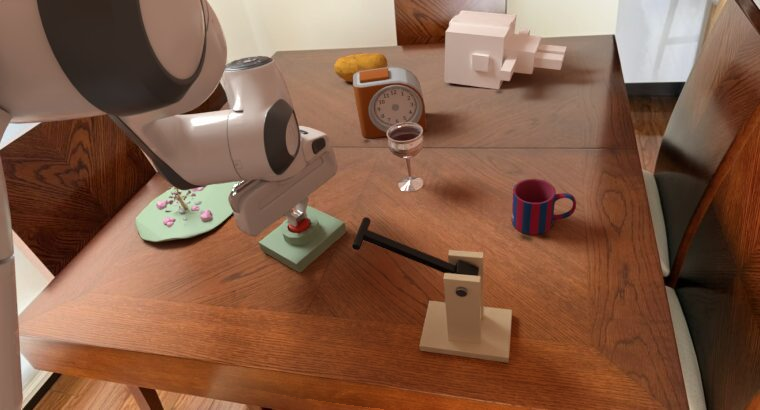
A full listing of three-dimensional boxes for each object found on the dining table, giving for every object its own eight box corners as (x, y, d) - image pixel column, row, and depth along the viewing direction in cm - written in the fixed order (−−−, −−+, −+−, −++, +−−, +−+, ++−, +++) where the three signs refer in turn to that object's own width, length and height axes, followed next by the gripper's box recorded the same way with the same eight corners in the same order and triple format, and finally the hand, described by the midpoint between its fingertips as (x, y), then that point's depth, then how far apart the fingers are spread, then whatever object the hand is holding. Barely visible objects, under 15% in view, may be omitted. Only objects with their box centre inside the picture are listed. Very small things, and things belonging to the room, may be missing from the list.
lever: (349, 251, 62) (354, 239, 60) (360, 224, 66) (365, 212, 64) (468, 299, 62) (476, 289, 61) (472, 270, 66) (480, 259, 64)
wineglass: (407, 199, 96) (400, 146, 88) (387, 183, 100) (379, 132, 93) (435, 184, 98) (430, 131, 90) (414, 169, 103) (408, 118, 95)
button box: (299, 273, 84) (293, 256, 82) (261, 251, 90) (255, 234, 87) (346, 231, 91) (342, 214, 88) (308, 213, 96) (304, 196, 94)
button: (300, 239, 87) (298, 231, 85) (286, 231, 89) (284, 224, 87) (315, 227, 88) (312, 219, 87) (301, 220, 90) (298, 212, 89)
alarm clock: (362, 140, 114) (351, 85, 105) (361, 121, 120) (352, 68, 112) (427, 131, 113) (422, 75, 104) (423, 113, 120) (418, 59, 111)
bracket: (419, 350, 70) (410, 284, 61) (429, 305, 75) (422, 239, 67) (508, 363, 66) (512, 295, 58) (512, 314, 72) (515, 246, 63)
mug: (514, 207, 90) (516, 176, 85) (574, 214, 86) (579, 183, 82) (508, 232, 85) (509, 201, 81) (571, 241, 82) (575, 209, 77)
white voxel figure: (550, 111, 116) (434, 94, 125) (564, 64, 133) (461, 52, 142) (561, 50, 106) (435, 37, 115) (575, 8, 123) (464, -1, 132)
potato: (340, 75, 142) (335, 51, 138) (390, 71, 139) (387, 47, 135) (335, 87, 137) (330, 62, 132) (387, 83, 134) (384, 58, 130)
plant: (172, 170, 115) (156, 137, 109) (258, 165, 112) (245, 131, 106) (118, 248, 96) (95, 212, 90) (219, 245, 93) (202, 208, 87)
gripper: (238, 199, 71) (265, 266, 80) (335, 130, 82) (349, 195, 91) (212, 185, 75) (241, 251, 84) (308, 121, 86) (325, 185, 95)
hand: (298, 221), depth 87 cm, fingers closed, pressing on button
